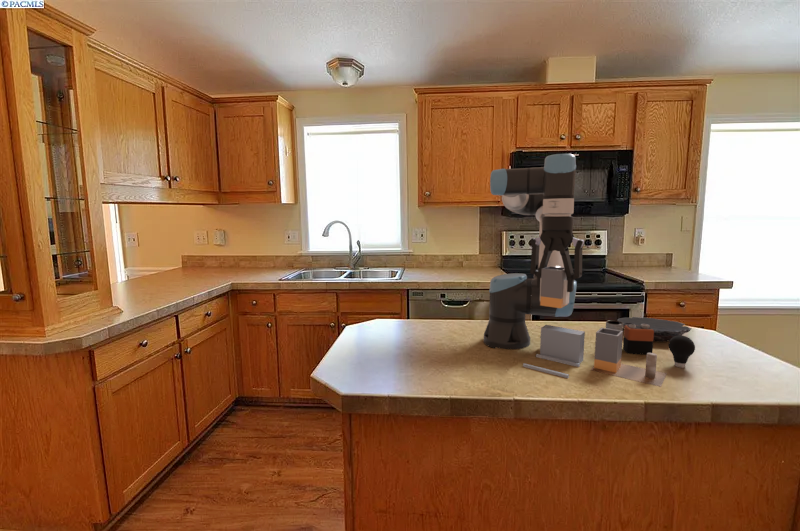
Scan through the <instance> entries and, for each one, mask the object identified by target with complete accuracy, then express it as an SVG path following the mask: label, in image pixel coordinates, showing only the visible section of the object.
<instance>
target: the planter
mask: <svg viewBox="0 0 800 531" xmlns="http://www.w3.org/2000/svg"><path fill="white" fill-rule="evenodd" d="M605 328H607V329H613V330H619V331H623V332H624V328H623V323H622V322H620V321H617V320H612V319H611V320H606V322H605Z"/></svg>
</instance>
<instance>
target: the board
mask: <svg viewBox="0 0 800 531" xmlns="http://www.w3.org/2000/svg"><path fill="white" fill-rule="evenodd" d="M616 321H620V322H622V323H623V329H624V326H625V325H630V324H634V325H636V326H641V324H648V325H649V327H650V328H651V329H653V330H654V338H653V342H658V343H659V342H661V343H663V342H669V341H670V340H671V339H672V338H673V337H675V336H679V335H682V336H684V335H685V334H687V333H689V332H690V331H691V330H692V327H689V326H685V325H686V324H685V323H682V322H679V321H673V320H668V319H667V320H666V319H661V318H660V319H659V318H652V317H643V316H642V317H641V316H640V317H639V316H632V317H621V318H618V319H617V320H616Z"/></svg>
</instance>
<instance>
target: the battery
mask: <svg viewBox="0 0 800 531" xmlns="http://www.w3.org/2000/svg"><path fill="white" fill-rule="evenodd" d="M653 338H654V330H653V329H651V328H650V327H649V325H648V324H641V326H636V325H634V324H630V325H625V326H624V328H623V340H622V351H624V352H625V353H626V354H627V355H645V356H647V353H653V350H654V341H653Z"/></svg>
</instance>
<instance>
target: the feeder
mask: <svg viewBox="0 0 800 531" xmlns="http://www.w3.org/2000/svg"><path fill="white" fill-rule="evenodd" d="M585 334H586V331H583V330H578V329H571V328H568V327H560V326H555V325H550V324H545V325H543V326H542V327H541V328H540V344H539V345H540V347H539V348H540V349H539V353H536V355H535V358H538V359H539V358H540V359H542V360H548V361H552V362H557V363H559V364H565V365H568V366H572V367H576V368H580V365H581V363H583V362H584V354H585V353H584V352H585V338H586V337H585ZM522 367H524V368H526V369H530V370H534V371H537V372H542V373H545V374H550V375H554V376H556V377H557V376H558V377H561V378H565V379H569V378H570V374H568V373H565V372H560V371H557V370H552V369H548V368H545V367H540V366H536V365H532V364H528V363H525V362H524V363H522Z"/></svg>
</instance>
